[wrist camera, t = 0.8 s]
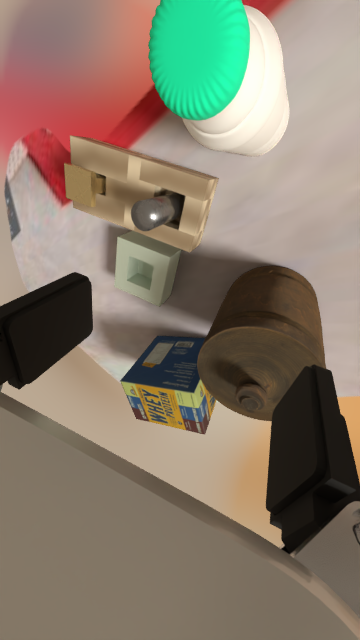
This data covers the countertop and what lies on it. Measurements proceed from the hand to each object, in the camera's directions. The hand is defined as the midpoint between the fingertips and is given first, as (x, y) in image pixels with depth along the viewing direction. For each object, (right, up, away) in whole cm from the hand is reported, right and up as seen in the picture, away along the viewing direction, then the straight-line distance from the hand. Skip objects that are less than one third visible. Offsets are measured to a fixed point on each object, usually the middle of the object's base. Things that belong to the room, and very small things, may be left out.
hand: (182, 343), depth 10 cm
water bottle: (+10, +26, +20) cm, 34 cm away
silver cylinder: (0, +19, +28) cm, 34 cm away
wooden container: (+16, +3, +32) cm, 36 cm away
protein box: (+2, -7, +45) cm, 46 cm away
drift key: (-12, +23, +28) cm, 38 cm away
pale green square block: (-5, +12, +36) cm, 39 cm away
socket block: (-6, +22, +30) cm, 37 cm away
